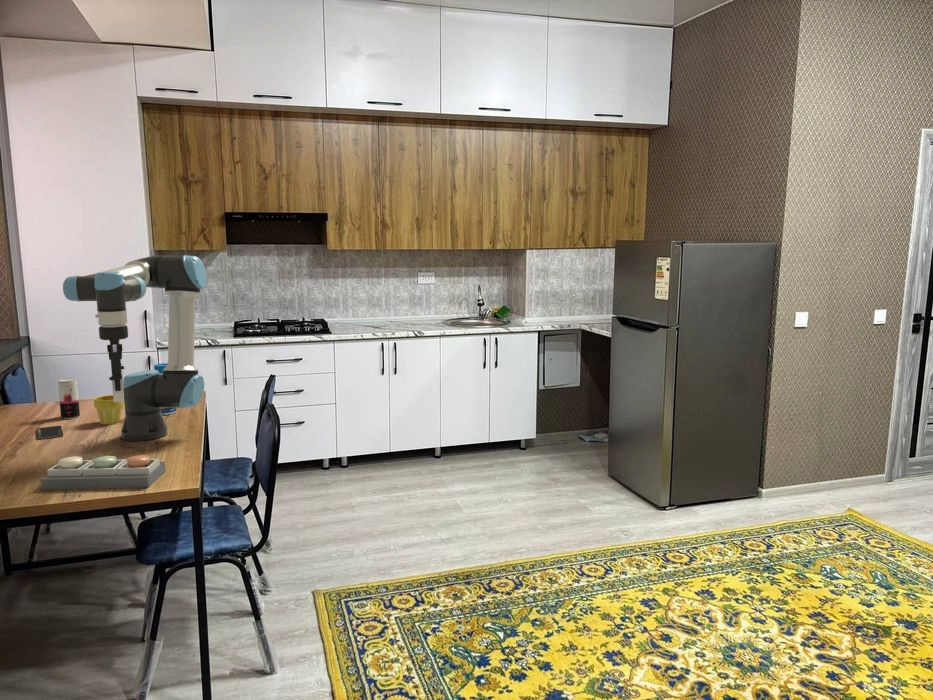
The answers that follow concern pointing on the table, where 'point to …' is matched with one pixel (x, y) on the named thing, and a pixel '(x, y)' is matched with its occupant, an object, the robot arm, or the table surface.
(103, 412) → the plant pot
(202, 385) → the robot arm
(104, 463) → the sage button
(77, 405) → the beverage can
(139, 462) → the terracotta button
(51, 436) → the phone
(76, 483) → the button panel
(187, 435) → the table surface
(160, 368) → the beverage bottle
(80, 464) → the cream button
